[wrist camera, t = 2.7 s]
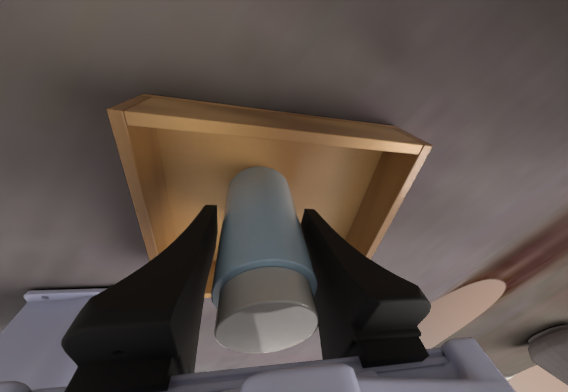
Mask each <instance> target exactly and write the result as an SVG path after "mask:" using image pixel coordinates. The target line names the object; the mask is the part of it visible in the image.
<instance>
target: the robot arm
mask: <svg viewBox="0 0 568 392" xmlns="http://www.w3.org/2000/svg"><path fill="white" fill-rule="evenodd" d="M301 228H302V231H303V234H304V238H305V241H306V245H307V248H308V251H309V255H310V258H311V262H312V265H313V268H314V272H315V275H316V279H317V291H316V294H315V296H314V299H315V303H316V307H317V311H318V315H319V324H318V326H319V333H320V341H321V349H322V357H323V360H317V361H307V362H297V363H287V364H278V365H268V366H258V367H249V368H239V369H229V370H219V371H210V372H200V373H194V369H195V361H196V353H197V345H198V338H199V330H200V323H201V316H202V309H203V302H204V296H205V289H206V285H207V280H208V276H209V273H210V269H211V265H212V261H213V257H214V253H215V249H216V242H217V234H218V222H217V205H205V206H204V207H203V208H202V210H201V211H200V212H199V214H198V215H197V216H196V217H195V219H194V220H193V221H192V222H191V223H190V225H189V226H188V227H187V228H186V229H185V230H184V231H183V232H182V233H181V234H180V235H179V236H178V237H177V238H176V239H175V240H174V241H173V242H172V243H171V244H170V245H169V246H168V247H167V248H166V249H165V250H163V251H162V252H161V253H160V254H159V255H157V256H156V257H155V258H153V259H152V260H151V261H150V262H148V263H147V264H146V265H144V266H143V267H141V268H140V269H138V270H137V271H135V272H134V273H132V274H131V275H129V276H128V277H126V278H125V279H123V280H121V281H120V282H118V283H116V284H115V285H113V286H111V287H109V288H101V289H66V290H32V291H28V292H26V294H25V295H24V296H23V297H24V299H25V300H26V301H27V303H26V304H25V306H24V307H23V308H22V309H21V310H20V311H19V312H18V314H17V315H16V316H15V317H14V318H13V319H12V320H11V322H10V323H9V324H8V325H7V326H6V327H5V328H4V330H3V331H2V332H1V333H0V392H515V390H514V389H513V388H512V386H511V385H510V384H509V383H508V381H507V380H506V379H505V377H504V376H503V375H502V374H501V372H500V371H499V370H498V368H497V367H496V366H495V365H494V363H493V362H492V361H491V359H490V358H489V357H488V356H487V354H486V353H485V352H484V350H483V349H482V348H481V347H480V345H479V344H478V343H477V341H476V340H475V339H474V338H472V337H468V338H457V339H451V340H449V341H447V342H445V343H444V344H443V345H442V346H441V348H433V349H425V347H424V345H423V344H422V342H421V340H420V339H419V336H421V332H420V330H419V329H418V327H417V325H418V324H419V323H420V322H421V321H422V320H423V319H424V318H425V317H426V316H427V315H428V313H429V312H430V308H431V304H430V302H429V301H428V299H427V298H426V297H425V295H424V294H423V292H422V291H421V290H420V288H419V287H418V286H417V285H415V284H413V283H411V282H409V281H407V280H405V279H403V278H401V277H399V276H397V275H395V274H393V273H391V272H390V271H388V270H386V269H384V268H383V267H381V266H379V265H378V264H376V263H375V262H373V261H372V260H370V259H369V258H367V257H366V256H364V255H363V254H362V253H360V252H359V251H358V250H356V249H355V248H354V247H353V246H351V245H350V244H349V243H348V242H347V241H346V240H344V239H343V238H342V237H341V236H340V235H339V234H338V233H337V232H336V231H335V230H334V229H333V228H332V227H331V226H330V225H329V224H328V223H327V222H326V221H325V220H324V219H323V218H322V217H321V216H320V215H319V214H318V212H317V211H316V210H315V209H304V213H303V217H302V221H301Z"/></svg>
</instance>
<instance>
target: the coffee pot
mask: <svg viewBox="0 0 568 392" xmlns="http://www.w3.org/2000/svg"><path fill="white" fill-rule="evenodd" d="M528 343H530V345H529V347H528V351H529V355H530V357H531V359H532V361H533V362H534V363H536V364H537V365H538V366H540V367H541V368H543V369H545V370H546V371H547V372H549V373H550V374H552V375H553V376H555V377H556V378H558V379H559V380H561V381H562V382H564V383H565V384H567V385H568V325H562V326H557V327H553V328H550V329H547V330H545V331H542V332H540V333H538V334H536V335H534V336H533V337H531V338H530V339H529V340H528Z"/></svg>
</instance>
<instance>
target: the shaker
mask: <svg viewBox="0 0 568 392" xmlns="http://www.w3.org/2000/svg"><path fill="white" fill-rule="evenodd" d="M316 291H317V279H316V275H315V272H314V268H313V265H312V262H311V258H310V255H309V251H308V248H307V245H306V241H305V238H304V234H303V231H302V228H301V224H300V221H299V217H298V214H297V211H296V207H295V204H294V200H293V197H292V194H291V190H290V187H289V184H288V182H287V180H286V179H285V177H284V176H283V175H282V174H280V173H279V172H278V171H276V170H274V169H271V168H268V167H251V168H247V169H245V170H243V171H241V172H239V173H238V174H236V175H235V176H234V177H233V179H232V180H231V181H230V183H229V185H228V189H227V195H226V201H225V207H224V214H223V220H222V226H221V233H220V239H219V245H218V252H217V258H216V265H215V271H214V277H213V284H212V290H211V298H212V302H213V304H214V306H215V307H216V308H217V313H216V321H215V330H214V334H215V338H216V340H217V341H218V343H219V344H221V345H222V346H223V347H225V348H227V349H229V350H232V351H236V352H241V353H269V352H275V351H279V350H283V349H286V348H289V347H292V346H294V345H297V344H299V343H301V342H302V341H304V340H306V339H307V338H308V337H310V336H311V335H312V334H313V333H314V332H315V331H316V329H317V327H318V324H319V315H318V311H317V307H316V303H315V299H314V296H315V294H316Z"/></svg>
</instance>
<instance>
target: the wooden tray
mask: <svg viewBox="0 0 568 392" xmlns="http://www.w3.org/2000/svg"><path fill="white" fill-rule="evenodd" d="M107 113H108V117H109V120H110V124H111V127H112V131H113V134H114V138H115V141H116V145H117V148H118V152H119V155H120V159H121V162H122V166H123V169H124V173H125V176H126V180H127V183H128V187H129V190H130V194H131V197H132V201H133V204H134V208H135V212H136V215H137V219H138V222H139V226H140V229H141V233H142V236H143V240H144V243H145V247H146V250H147V254H148V257H149V261H151V260H152V259H153V258H155V257H156V256H157V255H159V254H160V253H161V252H162V251H163V250H165V249H166V248H167V247H168V246H169V245H170V244H171V243H172V242H173V241H174V240H175V239H176V238H177V237H178V236H179V235H180V234H181V233H182V232H183V231H184V230H185V229H186V228H187V227H188V226H189V225H190V223H191V222H192V221H193V220H194V219H195V217H196V216H197V215H198V214H199V212H200V211H201V210H202V208H203V207H204V206H205V205H217V222H218V234H217V242H216V249H215V253H214V257H213V261H212V265H211V269H210V273H209V276H208V280H207V285H206V289H205V296H204V298H211V290H212V284H213V277H214V271H215V265H216V258H217V252H218V245H219V239H220V233H221V226H222V220H223V214H224V207H225V201H226V195H227V189H228V185H229V183H230V181H231V180H232V179H233V177H234V176H235V175H236V174H238V173H239V172H241V171H243V170H245V169H247V168H251V167H268V168H271V169H274V170H276V171H278V172H279V173H280V174H282V175H283V176H284V177H285V179H286V180H287V182H288V184H289V187H290V190H291V194H292V197H293V200H294V204H295V207H296V211H297V214H298V217H299V221H300V224H301V221H302V217H303V213H304V209H315V210H316V211H317V212H318V214H319V215H320V216H321V217H322V218H323V219H324V220H325V221H326V222H327V223H328V224H329V225H330V226H331V227H332V228H333V229H334V230H335V231H336V232H337V233H338V234H339V235H340V236H341V237H342V238H343V239H344V240H346V241H347V242H348V243H349V244H350V245H351V246H353V247H354V248H355V249H356V250H358V251H359V252H360V253H362V254H363V255H364V256H366V257H367V258H369V259H370V260H371V258H372V256H373V254H374V253H375V251H376V249H377V247H378V245H379V244H380V242H381V240H382V238H383V236H384V234H385V233H386V231H387V229H388V227H389V225H390V224H391V222H392V220H393V218H394V216H395V214H396V213H397V211H398V209H399V207H400V205H401V203H402V202H403V200H404V198H405V196H406V194H407V193H408V191H409V189H410V187H411V185H412V183H413V182H414V180H415V178H416V176H417V174H418V173H419V171H420V169H421V167H422V165H423V163H424V162H425V160H426V158H427V156H428V154H429V152H430V151H431V149H432V147H433V146H432V145H431V144H429V143H427V142H425V141H423V140H421V139H419V138H417V137H415V136H413V135H411V134H410V133H408V132H406V131H404V130H402V129H400V128H398V127H396V126H391V125H383V124H375V123H367V122H359V121H352V120H344V119H336V118H328V117H321V116H313V115H305V114H297V113H289V112H282V111H274V110H266V109H258V108H250V107H243V106H235V105H227V104H219V103H212V102H204V101H196V100H188V99H180V98H173V97H165V96H157V95H149V94H142V95H139V96H137V97H134V98H132V99H130V100H127V101H125V102H122V103H120V104H118V105H115V106H113V107H110V108H108V109H107Z"/></svg>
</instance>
